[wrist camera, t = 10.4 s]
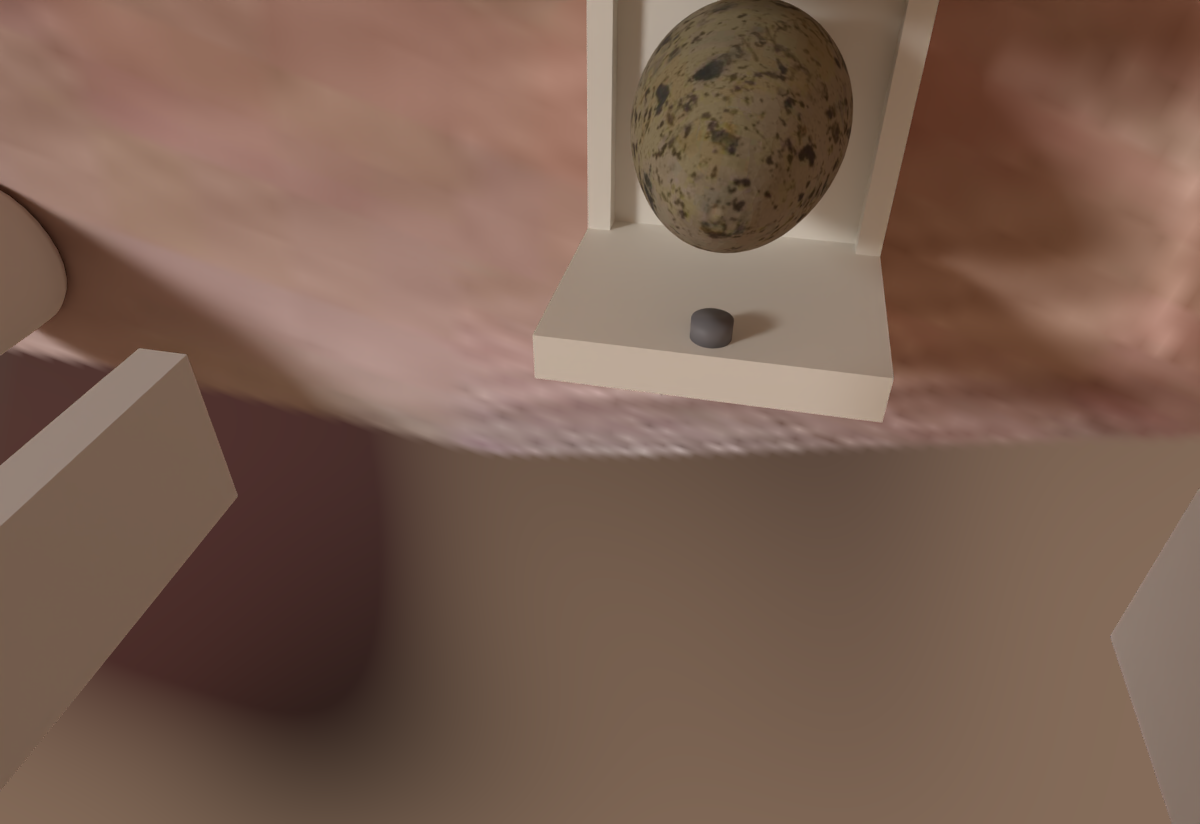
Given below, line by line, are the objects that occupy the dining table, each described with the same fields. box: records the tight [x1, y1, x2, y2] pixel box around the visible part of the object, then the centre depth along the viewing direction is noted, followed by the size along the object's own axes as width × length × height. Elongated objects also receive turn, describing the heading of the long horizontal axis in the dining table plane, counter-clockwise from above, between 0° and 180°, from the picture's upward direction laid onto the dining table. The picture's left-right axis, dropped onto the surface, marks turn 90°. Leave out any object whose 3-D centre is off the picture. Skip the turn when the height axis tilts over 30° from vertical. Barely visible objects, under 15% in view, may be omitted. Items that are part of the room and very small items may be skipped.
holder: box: [533, 0, 939, 422], centre depth 24 cm, size 14×10×10 cm
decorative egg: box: [630, 0, 853, 253], centre depth 22 cm, size 6×6×10 cm
